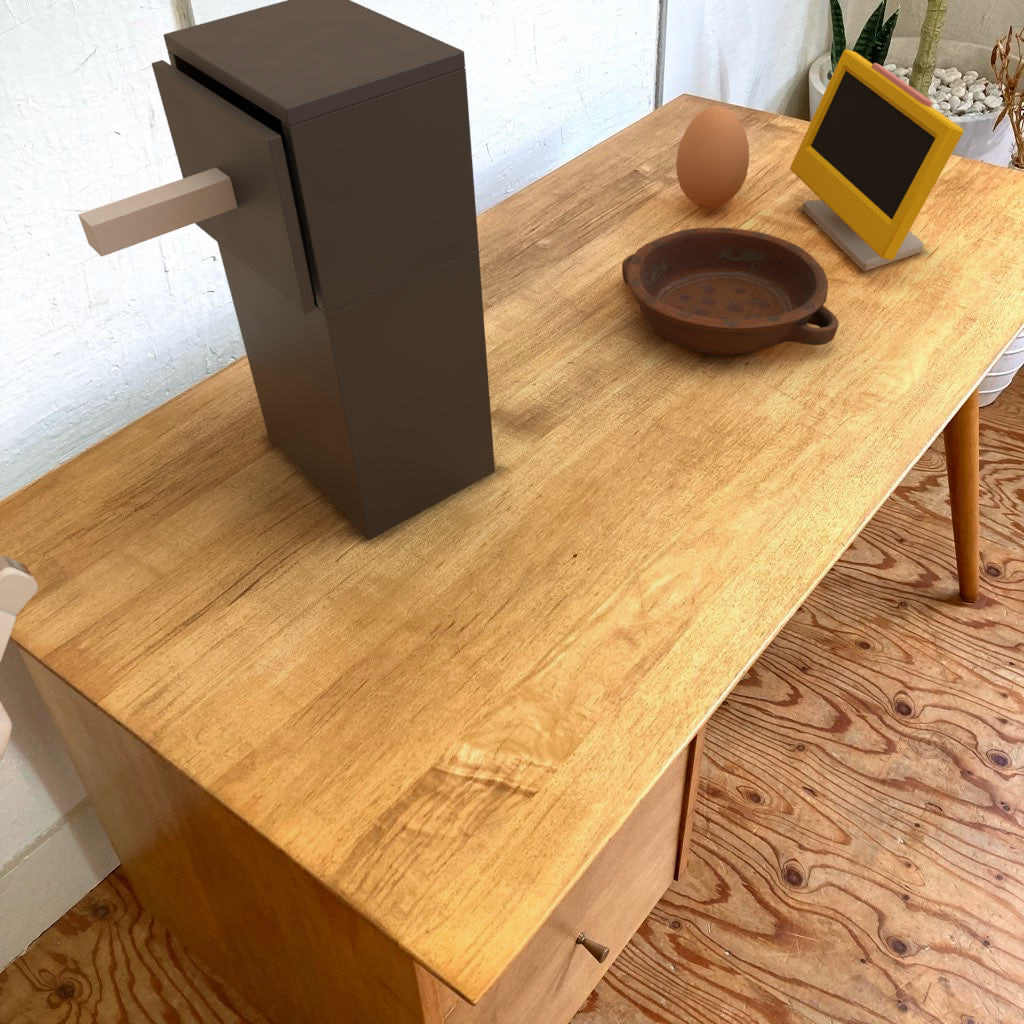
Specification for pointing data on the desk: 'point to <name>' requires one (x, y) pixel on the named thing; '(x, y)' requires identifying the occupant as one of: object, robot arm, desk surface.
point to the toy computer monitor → (872, 161)
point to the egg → (713, 158)
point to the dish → (730, 291)
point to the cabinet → (364, 254)
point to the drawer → (219, 187)
